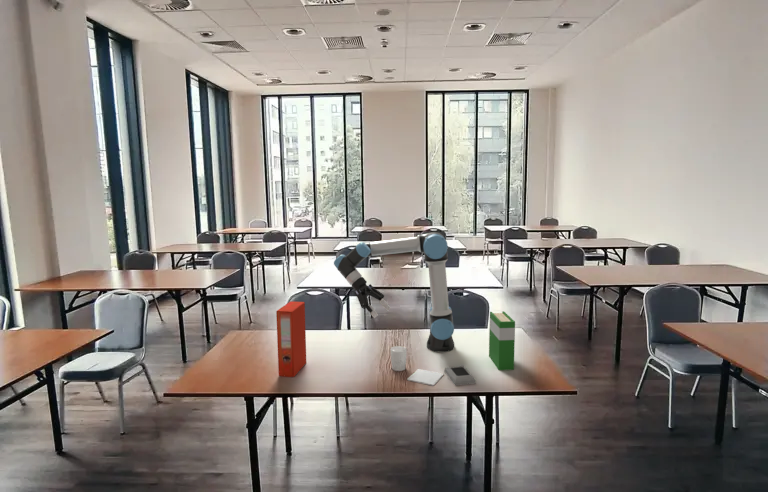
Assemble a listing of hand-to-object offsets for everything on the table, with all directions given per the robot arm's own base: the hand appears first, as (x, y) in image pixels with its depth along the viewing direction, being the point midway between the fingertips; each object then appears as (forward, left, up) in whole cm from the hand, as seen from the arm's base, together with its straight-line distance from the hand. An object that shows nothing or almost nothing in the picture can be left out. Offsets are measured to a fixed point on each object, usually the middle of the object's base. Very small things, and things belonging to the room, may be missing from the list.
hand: (383, 313), depth 229 cm
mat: (+8, +26, -26) cm, 38 cm away
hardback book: (-25, +53, -26) cm, 64 cm away
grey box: (+1, +41, -26) cm, 48 cm away
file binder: (+28, -36, -26) cm, 52 cm away
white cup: (+4, +10, -26) cm, 28 cm away
